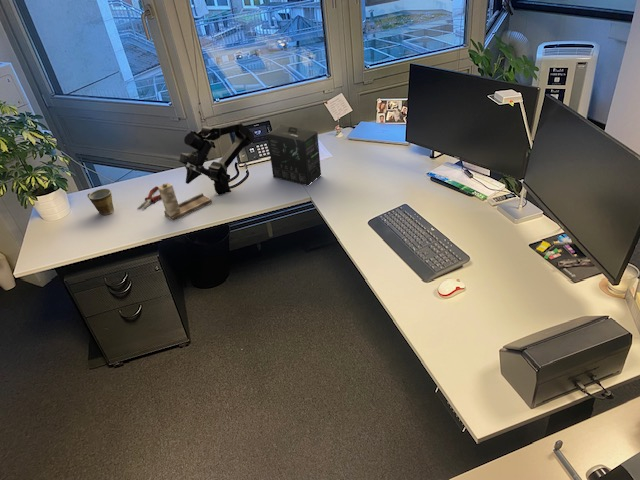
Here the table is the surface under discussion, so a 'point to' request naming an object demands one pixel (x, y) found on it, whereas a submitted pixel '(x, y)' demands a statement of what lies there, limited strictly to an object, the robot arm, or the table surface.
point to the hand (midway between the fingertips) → (186, 183)
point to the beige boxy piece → (169, 199)
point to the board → (190, 206)
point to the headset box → (294, 154)
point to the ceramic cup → (102, 201)
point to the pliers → (150, 198)
